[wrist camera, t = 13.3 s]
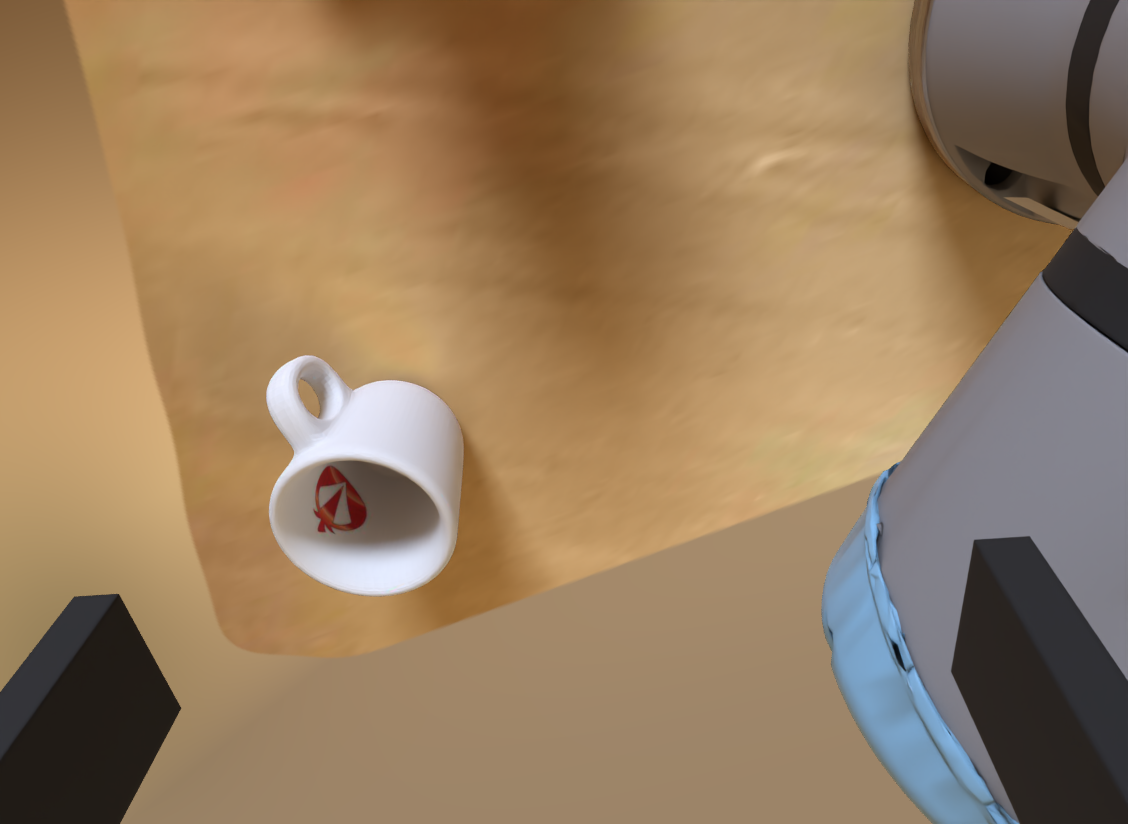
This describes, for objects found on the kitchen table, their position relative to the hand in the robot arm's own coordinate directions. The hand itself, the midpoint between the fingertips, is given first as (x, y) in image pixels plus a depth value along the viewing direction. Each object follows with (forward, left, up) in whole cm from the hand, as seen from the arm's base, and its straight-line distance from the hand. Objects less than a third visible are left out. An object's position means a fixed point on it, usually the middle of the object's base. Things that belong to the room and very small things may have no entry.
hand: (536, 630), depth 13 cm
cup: (+11, +10, -25) cm, 29 cm away
